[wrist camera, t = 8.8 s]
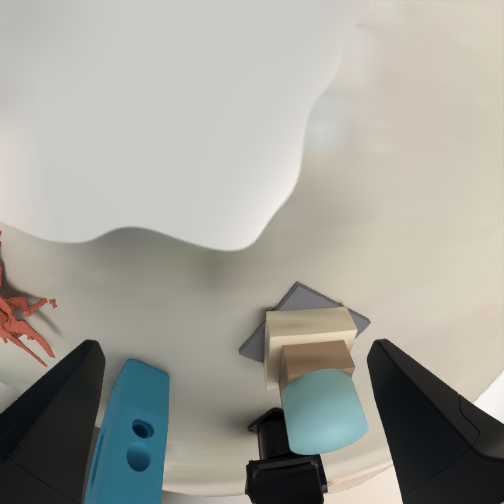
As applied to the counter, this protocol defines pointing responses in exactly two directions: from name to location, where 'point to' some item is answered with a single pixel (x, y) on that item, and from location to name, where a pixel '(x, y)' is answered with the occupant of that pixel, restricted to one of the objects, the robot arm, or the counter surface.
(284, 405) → the light blue cylinder
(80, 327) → the counter surface
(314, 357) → the tower block
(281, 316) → the tower base
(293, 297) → the mat
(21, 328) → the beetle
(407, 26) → the counter surface
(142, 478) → the block
